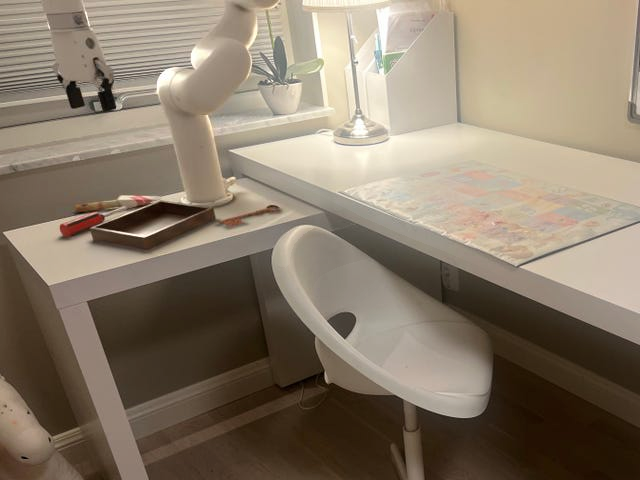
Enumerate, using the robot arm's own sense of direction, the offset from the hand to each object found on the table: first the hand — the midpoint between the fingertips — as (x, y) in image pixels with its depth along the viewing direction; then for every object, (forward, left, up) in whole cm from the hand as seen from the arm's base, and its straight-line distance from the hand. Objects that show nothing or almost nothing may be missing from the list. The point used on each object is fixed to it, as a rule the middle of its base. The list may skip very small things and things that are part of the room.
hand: (93, 108), depth 158 cm
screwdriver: (+3, -5, -26) cm, 27 cm away
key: (-14, +26, -26) cm, 39 cm away
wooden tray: (+1, +11, -26) cm, 28 cm away
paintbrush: (-8, -11, -26) cm, 30 cm away
